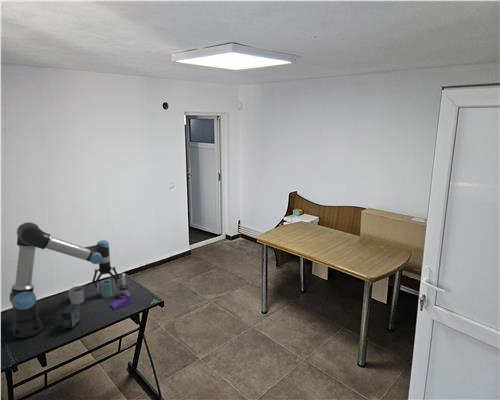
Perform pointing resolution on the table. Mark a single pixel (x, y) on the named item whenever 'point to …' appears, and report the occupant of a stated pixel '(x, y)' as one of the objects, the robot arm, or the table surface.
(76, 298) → the mug
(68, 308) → the small box
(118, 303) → the bracket
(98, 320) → the table surface
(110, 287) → the sleeve
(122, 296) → the plate
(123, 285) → the pipe
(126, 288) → the ring
